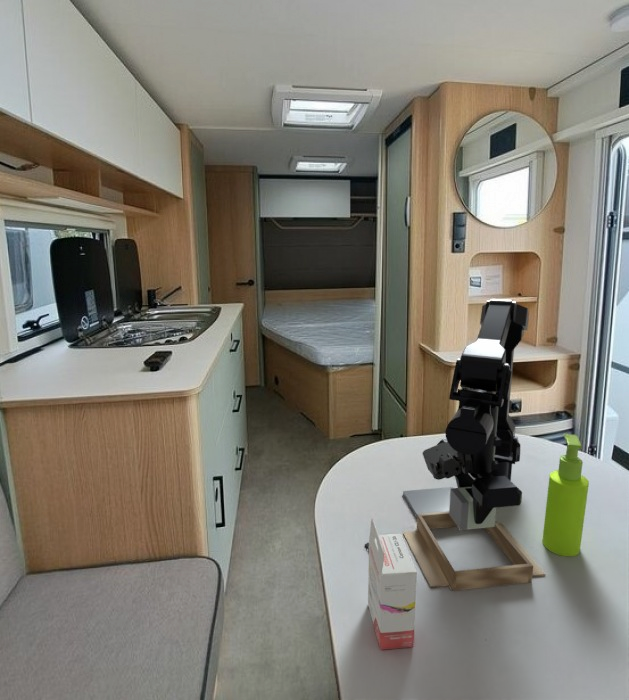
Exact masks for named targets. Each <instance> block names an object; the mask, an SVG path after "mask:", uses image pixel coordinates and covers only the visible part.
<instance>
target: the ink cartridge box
mask: <svg viewBox="0 0 629 700" xmlns="http://www.w3.org/2000/svg"><path fill="white" fill-rule="evenodd" d="M368 538H369V539H368V543H369V553H368V554H369V555H368V581H367V582H368V583H367V585H368V587H367V605H368V608H369V613H370V617H371V619H372V621H371V622H372V624H373V627H374V631H375V634H376V638H377V642H378V646H379V650H380V651H381V650H390V649H391V650H392V649H401V648H402V649H405V648H406V649H407V648H414V647H415V646H414V644H415V619H416V594H417V578H418V577H417V576H418V575H417V574H418V571H417V569H416V566H415V564H414V561H413V559H412V557H411V554H410V551H409V549H408V546H407V545H406V543H405V539H404V538H403V535H402V533H390V534H389V533H387V534H379V532H378V529H377V527H376V523H375V521H374V519H373V518H371V521H370V529H369V537H368Z"/></svg>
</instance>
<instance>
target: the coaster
mask: <svg viewBox="0 0 629 700" xmlns="http://www.w3.org/2000/svg"><path fill="white" fill-rule="evenodd" d="M451 488H454V487H453V486H448V487H437V488H435V487H434V488H425V489H424V488H423V489H412V490H403V491H402V495H403V497H404V499H405V500H406V502H407V503H408V505H409V507H410V509H411V511H412V512H413V514H414V516H415V518H416V519H417V514H425V513H436V512H447V511H449V507H450V490H451Z"/></svg>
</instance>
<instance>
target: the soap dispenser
mask: <svg viewBox="0 0 629 700" xmlns="http://www.w3.org/2000/svg"><path fill="white" fill-rule="evenodd" d="M562 435H563V438H564V440H565V443H566V444H567V445H566V452H565V453H566V454H564V455H560V457H559V462H558V463H559V464H558V470H553V471H552V472H550V473H549V478H548V487H547V495H546V496H547V497H546V503H545V504H546V505H545V513H544V514H545V515H544V523H543V531H542V544H543V546H544V547H545V548H546V549H547V550H548V551H550V552H551V553H553V554H555V555H557V556H558V555H559V556H562V557H576V556H578V555H579V553H580V551H581V545H582V537H583V530H584V523H585V522H584V521H585V515H586V507H587V500H588V491H589V486H590V485H589V483H590V482H589V480H588V478H586V477H585V476H584V475H582V469H583V463H584V462H583V460H582V459H581V458H579V457H578V456H579V450H581V449H582V443H581V441H580V439H579V437H578V436H577V434H571V433H562Z"/></svg>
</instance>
